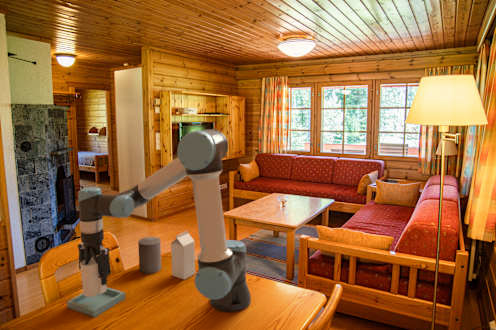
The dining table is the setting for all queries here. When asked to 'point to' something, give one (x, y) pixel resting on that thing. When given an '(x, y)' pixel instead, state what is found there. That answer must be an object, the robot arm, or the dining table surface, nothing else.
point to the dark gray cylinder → (149, 255)
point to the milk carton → (183, 256)
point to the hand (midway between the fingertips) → (96, 290)
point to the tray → (96, 302)
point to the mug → (90, 278)
